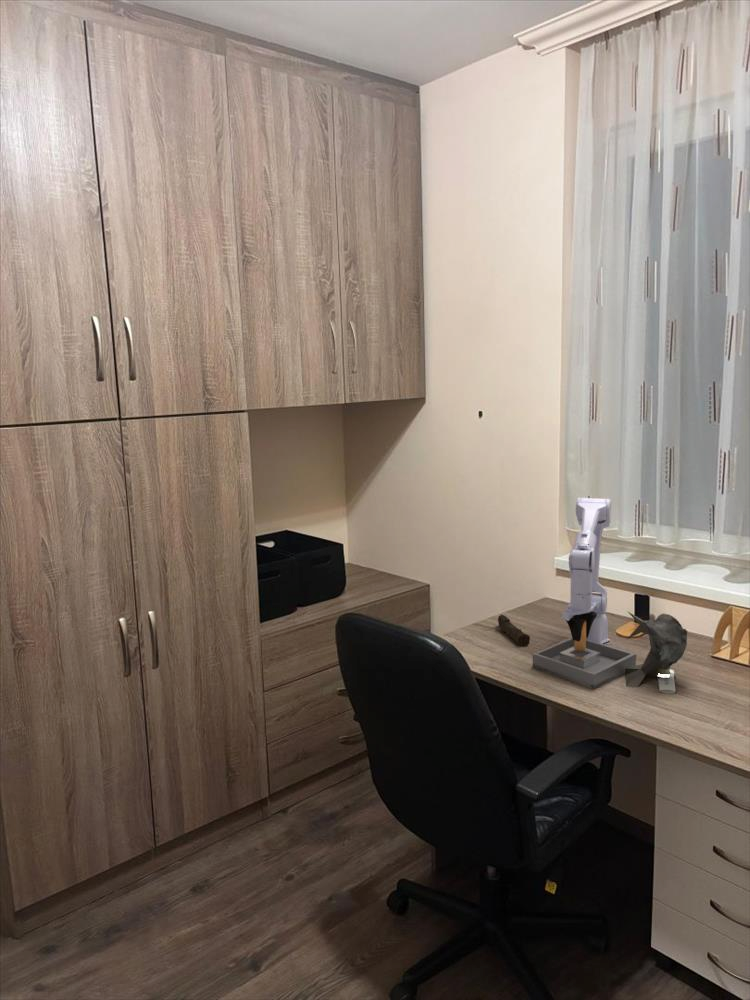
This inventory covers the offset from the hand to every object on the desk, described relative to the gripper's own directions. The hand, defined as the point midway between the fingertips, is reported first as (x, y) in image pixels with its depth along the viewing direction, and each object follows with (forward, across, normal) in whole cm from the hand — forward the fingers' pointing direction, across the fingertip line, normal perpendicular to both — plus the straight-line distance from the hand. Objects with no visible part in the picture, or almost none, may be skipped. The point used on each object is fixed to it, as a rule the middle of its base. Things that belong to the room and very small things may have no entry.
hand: (580, 638), depth 211 cm
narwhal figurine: (+8, -7, +19) cm, 22 cm away
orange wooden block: (+3, 0, 0) cm, 3 cm away
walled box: (+8, +1, +2) cm, 8 cm away
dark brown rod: (+8, -4, -28) cm, 30 cm away
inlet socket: (+8, 0, 0) cm, 8 cm away
